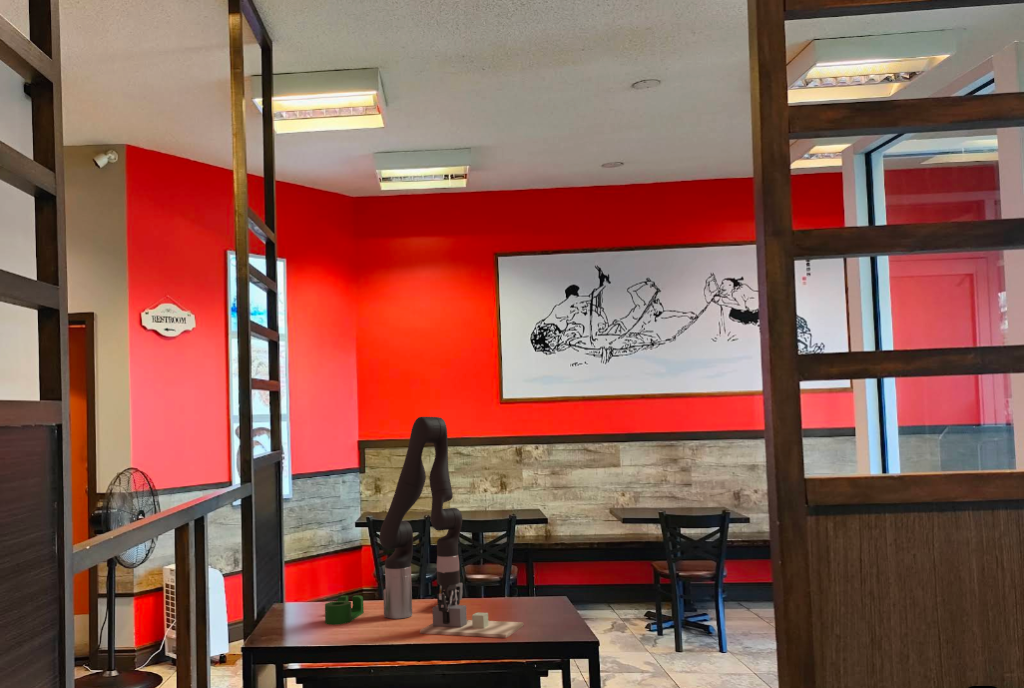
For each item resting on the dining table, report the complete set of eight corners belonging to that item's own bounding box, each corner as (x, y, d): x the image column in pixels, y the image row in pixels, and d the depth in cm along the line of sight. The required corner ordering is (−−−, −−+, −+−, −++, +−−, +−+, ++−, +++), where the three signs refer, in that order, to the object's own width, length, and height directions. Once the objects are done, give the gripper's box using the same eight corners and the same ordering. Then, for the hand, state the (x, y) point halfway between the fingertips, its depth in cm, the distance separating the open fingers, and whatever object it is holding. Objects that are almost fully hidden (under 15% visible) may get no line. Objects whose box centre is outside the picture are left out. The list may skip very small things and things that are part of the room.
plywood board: (420, 633, 257) (419, 630, 257) (441, 621, 272) (441, 618, 272) (506, 637, 246) (506, 634, 246) (523, 625, 261) (523, 622, 261)
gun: (461, 622, 306) (464, 583, 313) (441, 611, 285) (444, 569, 292) (453, 622, 307) (456, 583, 314) (432, 611, 286) (436, 569, 293)
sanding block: (433, 626, 261) (432, 607, 262) (439, 622, 266) (439, 604, 267) (460, 627, 258) (460, 608, 258) (466, 624, 262) (466, 605, 263)
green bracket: (345, 625, 273) (345, 606, 274) (321, 625, 275) (320, 606, 275) (363, 613, 291) (363, 595, 292) (340, 613, 292) (339, 595, 293)
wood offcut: (472, 627, 257) (472, 615, 257) (477, 624, 261) (476, 612, 261) (483, 628, 256) (483, 615, 256) (488, 625, 259) (488, 612, 260)
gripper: (447, 565, 272) (448, 616, 270) (428, 572, 258) (430, 626, 257) (467, 565, 269) (468, 617, 267) (449, 573, 256) (451, 627, 254)
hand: (449, 621), depth 262 cm, fingers closed on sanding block, 5 cm apart
